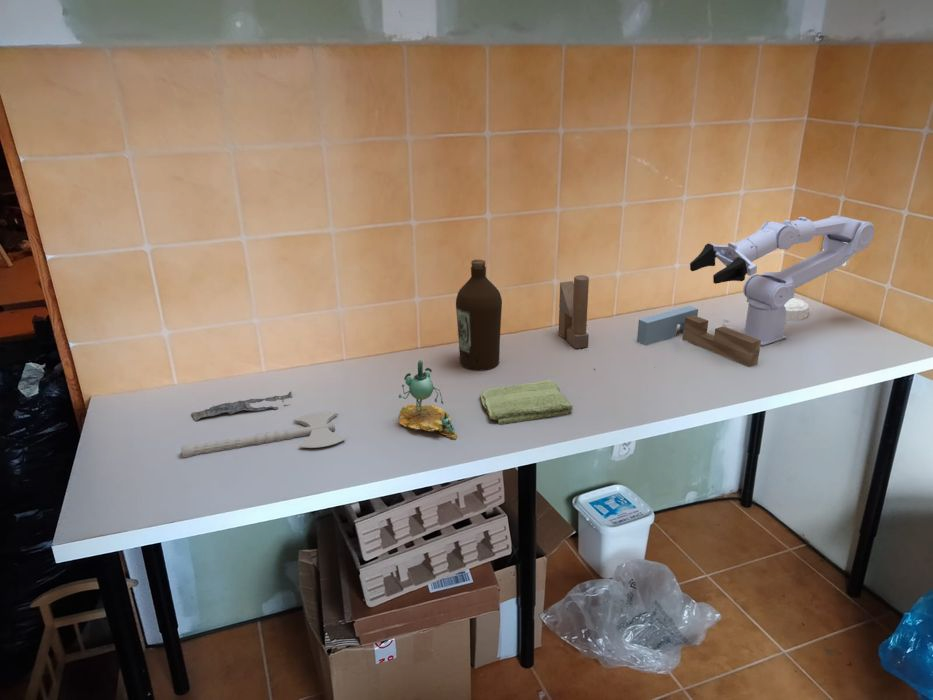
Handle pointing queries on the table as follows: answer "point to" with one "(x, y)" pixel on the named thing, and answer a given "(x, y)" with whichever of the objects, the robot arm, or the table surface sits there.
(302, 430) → the axe
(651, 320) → the slate crossbar
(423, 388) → the frog figurine
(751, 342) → the walnut beam
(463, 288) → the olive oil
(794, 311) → the mooncake
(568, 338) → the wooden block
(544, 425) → the table surface
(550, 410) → the washcloth
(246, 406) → the driftwood
